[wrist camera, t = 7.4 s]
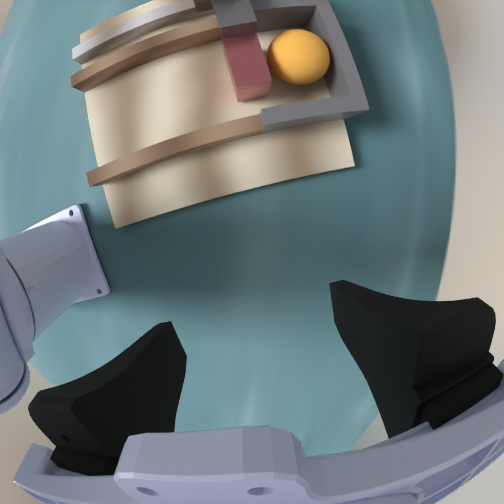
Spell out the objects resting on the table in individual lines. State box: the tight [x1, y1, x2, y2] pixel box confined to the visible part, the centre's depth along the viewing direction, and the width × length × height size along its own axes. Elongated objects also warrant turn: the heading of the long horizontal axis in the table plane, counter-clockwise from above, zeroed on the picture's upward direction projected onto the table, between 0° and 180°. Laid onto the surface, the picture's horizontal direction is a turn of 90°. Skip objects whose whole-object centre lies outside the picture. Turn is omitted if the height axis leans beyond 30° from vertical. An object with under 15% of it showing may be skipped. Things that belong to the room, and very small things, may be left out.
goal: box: [250, 0, 370, 133], centre depth 14 cm, size 6×9×3 cm
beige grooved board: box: [71, 0, 355, 229], centre depth 15 cm, size 18×18×3 cm
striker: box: [193, 0, 272, 102], centre depth 11 cm, size 4×10×8 cm, turn 14°
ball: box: [267, 29, 330, 85], centre depth 14 cm, size 4×4×4 cm
